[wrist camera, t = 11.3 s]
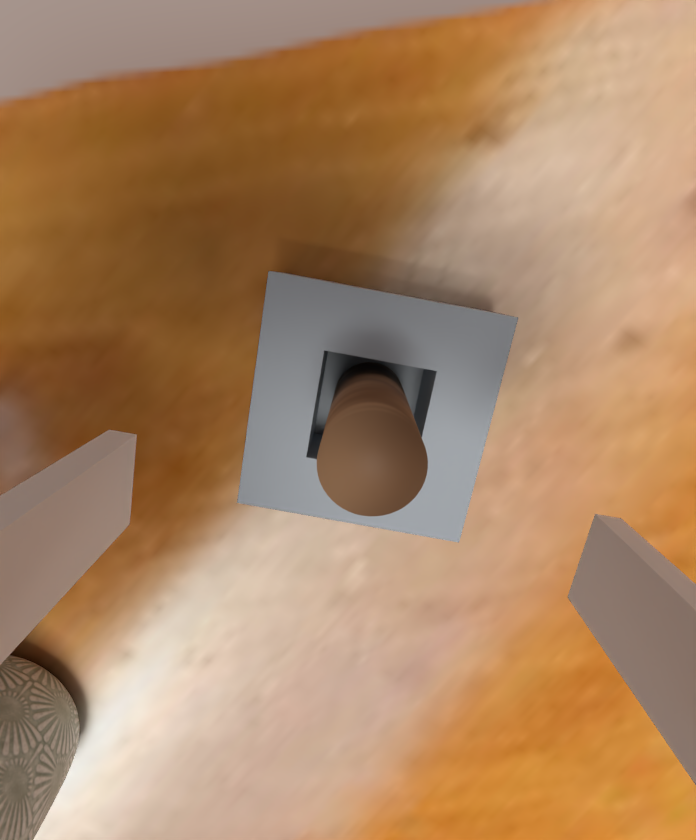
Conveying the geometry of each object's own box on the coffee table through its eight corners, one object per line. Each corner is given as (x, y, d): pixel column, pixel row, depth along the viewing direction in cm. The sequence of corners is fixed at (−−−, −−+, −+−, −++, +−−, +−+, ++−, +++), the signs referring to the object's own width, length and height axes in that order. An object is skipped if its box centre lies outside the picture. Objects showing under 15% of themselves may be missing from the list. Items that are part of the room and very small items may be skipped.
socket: (256, 469, 32) (237, 502, 27) (284, 272, 29) (268, 270, 24) (444, 503, 32) (459, 542, 28) (492, 311, 29) (518, 317, 25)
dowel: (329, 422, 31) (308, 505, 19) (341, 356, 30) (326, 401, 18) (395, 434, 31) (414, 525, 19) (409, 369, 30) (439, 422, 18)
